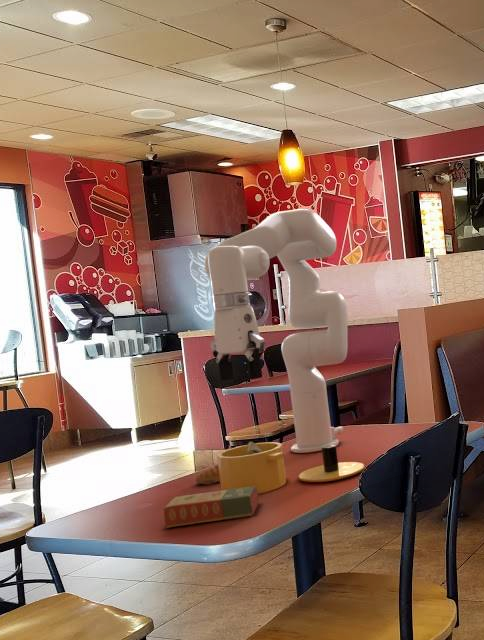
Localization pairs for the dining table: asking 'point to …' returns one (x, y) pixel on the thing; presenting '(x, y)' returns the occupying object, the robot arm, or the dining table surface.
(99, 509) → the dining table surface
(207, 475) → the pastry
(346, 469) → the lid
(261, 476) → the pot
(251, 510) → the carton
